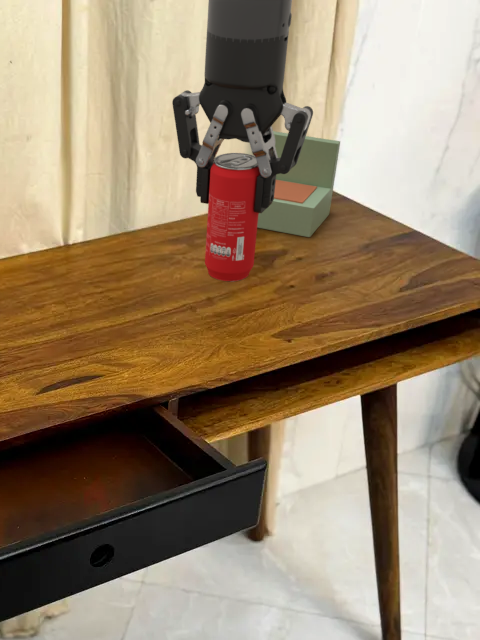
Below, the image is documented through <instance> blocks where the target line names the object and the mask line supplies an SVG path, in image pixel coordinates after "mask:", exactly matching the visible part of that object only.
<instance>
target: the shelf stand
mask: <svg viewBox="0 0 480 640" xmlns="http://www.w3.org/2000/svg"><path fill="white" fill-rule="evenodd" d="M273 133H274V137H275V148H276V152H277V156H278V158H280V157H281V155H282V152H283V148H284V145H285V142H286V139H287V136H288V133H289V132H281V131H275V130H273ZM340 146H341V140H335V139H329V138H328V139H327V138H321V137H314V136H308V135H306V137H305V140H304V143H303V146H302V149H301V152H300V155H299V158H298V161H297V164H296V165H295V166H294V167H292V168H291V169H290V171H289V172H288V173H286V174H281V173H280V174H277V175H276V183H275V193H274V200H273V202H272V204H271V205H270V206H269V207H268V208H266V209H265V210H264V211H263V212H262V213H259V214H258V224H257V229H263V230H269V231H274V232H277V233H278V232H279V233H285V234H289V235H295V236H300V237H305V238H311V237H312V235H313V234H314V233H315V232H316V231H317V230H318V228H319V227H320V226H321V225H322V224H323V222H324V221H325V220H326V219H327V218H328V217H329V215H330V213H331V212H330V211H331V205H332V199H333V192H334V186H335V179H336V172H337V167H338V160H339V154H340Z"/></svg>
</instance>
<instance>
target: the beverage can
mask: <svg viewBox="0 0 480 640" xmlns="http://www.w3.org/2000/svg"><path fill="white" fill-rule="evenodd" d="M259 175H260V171H259V168H258V164H257V160H256V157H255V156H254V155H253V154H250V153H245V152H228V153H222V154H218V155H216V157H215V158H214V163H213V165H212V166H211V170H210V186H209V203H208V204H207V221H206V237H205V238H206V240H205V251H204V252H205V253H204V254H205V255H204V256H205V257H204V264H205V267H206V270H207V275H208V276H209V277H210V278H212V279H213V280H217V281H218V282H219V281H220V282H224V283H225V282H227V283H233V282H240V281H243V280H244V281H245V280H246V279H247V278H248V277H249V276H250V273H251V271H252V270H253V268H254V266H255V255H256V245H257V235H258V233H257V232H258V228H257V224H258V214H259V213H256V212H254V206H255V195H256V184H257V177H258V176H259Z"/></svg>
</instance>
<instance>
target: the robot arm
mask: <svg viewBox="0 0 480 640" xmlns="http://www.w3.org/2000/svg"><path fill="white" fill-rule="evenodd" d="M207 3H208V4H207V22H206V23H207V24H206V39H205V40H206V41H205V58H204V83H203V86H202V88H201V90H200V91H197V92H191V91H190V90H188V89H185V90H184V91H182V92H180V94H178V95H176V96H175V97H173V99H172V110H173V117H174V123H175V124H174V125H175V130H176V131H175V132H176V138H177V143H178V145H177V146H178V150H179V155H180V156H181V158H183V159H188V160H191V161H192V162H194V164H195V165H196V179H195V180H196V182H195V193H196V197H198V198H199V199H200V200H199V201H200V203H201V204H205V205H208V203H209V186H210V170H211V166H212V165H213V163H214V158H215V157H217V154H218V152H219V150H220V148H221V146H222V143H223V142H224V140H228V141H229V140H234V139H235V140H238V141H241V142H242V143H249V146H250V150H251V154H252V155H253V156H255V157H256V160H257V164H258V168H259V171H260V175H259V176H258V177H257V184H256V195H255V206H254V212H256V213H262V212H263V211H264V210H265V209H266V208H268V207H269V206H270V205H271V204H272V202H273V200H274V193H275V183H276V175H277V174H280V173H281V174H286V173H288V172H289V171H290V169H291V168H292V167H294V166H295V165H296V164H297V161H298V158H299V155H300V152H301V149H302V146H303V143H304V140H305V137H306V136H307V134H308V130H309V128H310V124H311V121H312V119H313V116H314V111H313V108H312V107H311V106H309V105H306V106H303V107H299V106H298V105H294V104H292V103H289V102H287V98H286V95H285V93H284V92H285V91H284V82H285V81H284V80H285V74H286V73H285V72H286V64H287V63H286V61H287V53H288V52H287V51H288V43H289V33H290V27H291V24H292V15H293V14H292V5H293V4H292V3H293V0H208V2H207ZM200 106H201V108H202V110H203V112H204V114H205V116H206V118H207V119H208V121H209V123H210V124H209V125H208V127H207V130H206V133H205V135H204V137H203V139H202V144H201V143H200V136H199V130H198V121H197V114H199V112H200ZM281 116H282V117H283V119H284V128H285V130H287V131H288V132H287V133H288V136H287V139H286V142H285V145H284V148H283V152H282V155H281V157H280V158H278V156H277V152H276V148H275V137H274V133H273V131H274V128H273V125H274V124H275V122H277V120H278V119H279V118H280V117H281Z"/></svg>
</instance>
